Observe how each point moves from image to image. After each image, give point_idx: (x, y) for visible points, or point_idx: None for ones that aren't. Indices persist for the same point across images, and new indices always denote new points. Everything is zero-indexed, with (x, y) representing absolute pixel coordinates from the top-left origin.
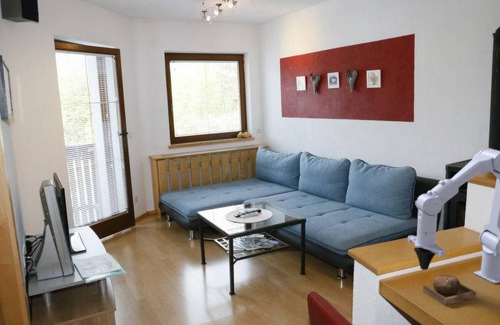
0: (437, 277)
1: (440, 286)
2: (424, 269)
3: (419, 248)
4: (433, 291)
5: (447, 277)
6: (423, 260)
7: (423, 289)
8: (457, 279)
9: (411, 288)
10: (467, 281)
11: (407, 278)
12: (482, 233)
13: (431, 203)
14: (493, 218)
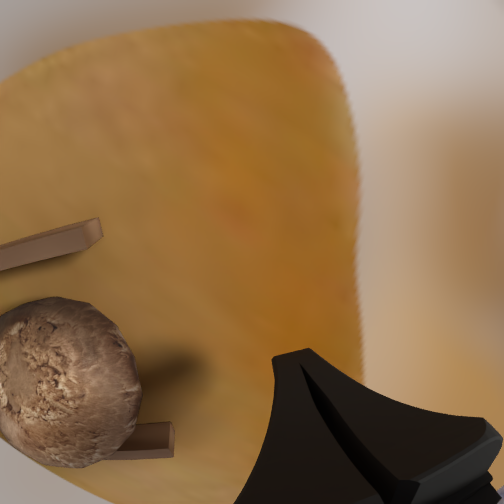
0: (85, 382)
1: (9, 327)
2: (273, 368)
3: (447, 497)
4: (4, 255)
5: (22, 423)
6: (278, 427)
7: (89, 221)
8: (24, 453)
9: (158, 153)
10: (200, 486)
11: (317, 214)
12: None
13: None
14: None
